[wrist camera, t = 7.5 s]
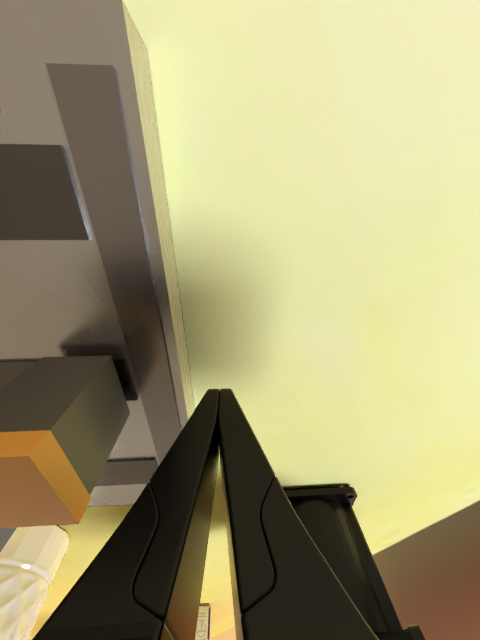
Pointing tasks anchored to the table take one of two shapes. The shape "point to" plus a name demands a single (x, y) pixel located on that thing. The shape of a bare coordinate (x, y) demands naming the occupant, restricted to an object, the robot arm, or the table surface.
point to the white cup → (27, 576)
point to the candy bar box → (203, 623)
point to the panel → (89, 221)
